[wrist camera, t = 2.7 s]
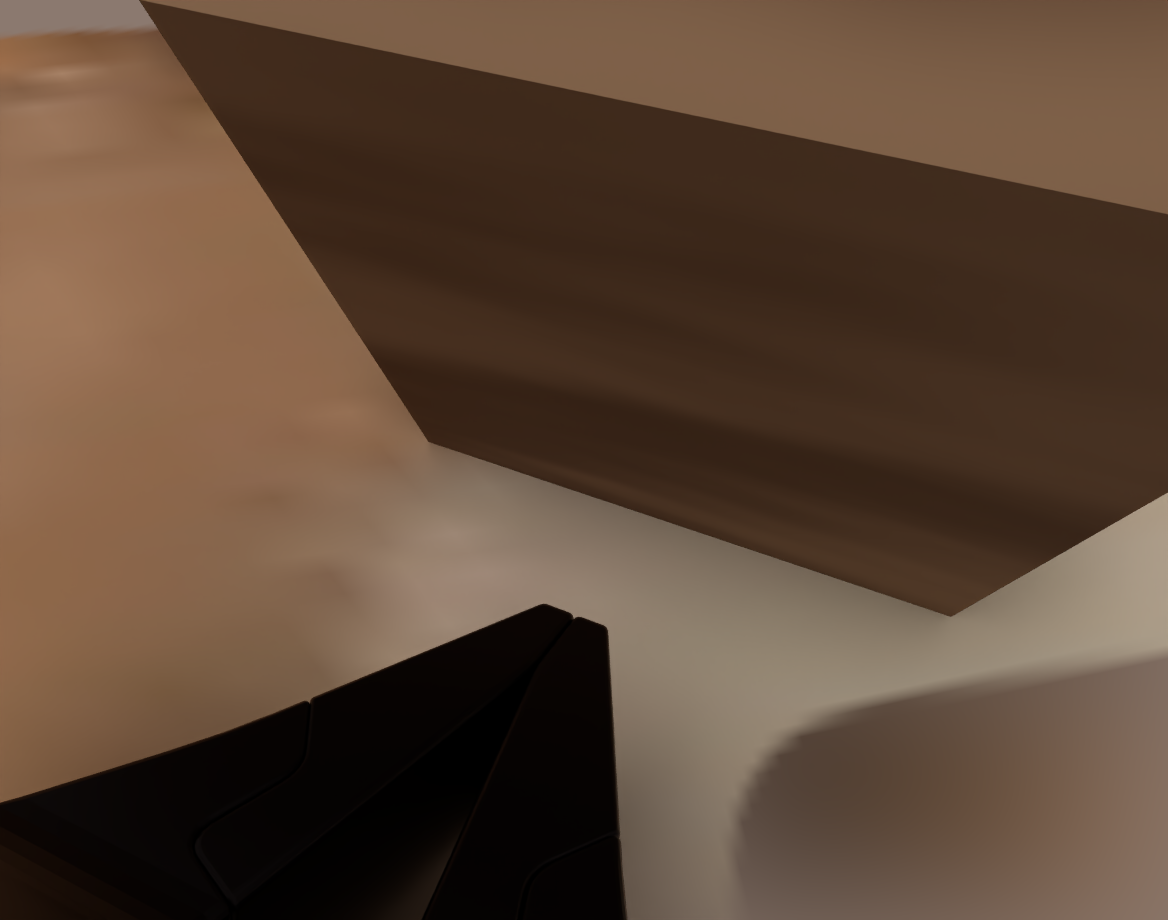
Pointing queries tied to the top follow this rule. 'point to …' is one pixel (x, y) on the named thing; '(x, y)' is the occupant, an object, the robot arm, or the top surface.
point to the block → (744, 253)
